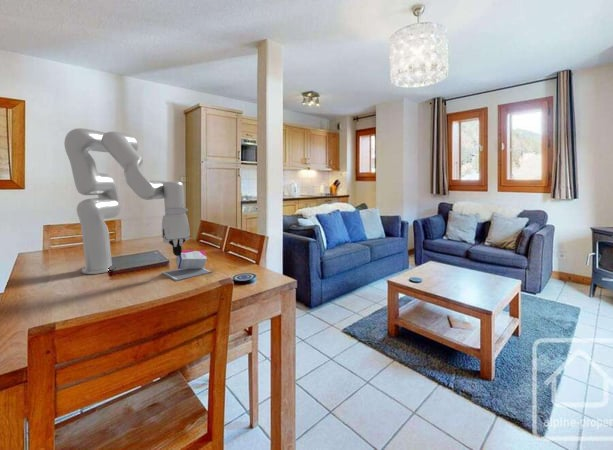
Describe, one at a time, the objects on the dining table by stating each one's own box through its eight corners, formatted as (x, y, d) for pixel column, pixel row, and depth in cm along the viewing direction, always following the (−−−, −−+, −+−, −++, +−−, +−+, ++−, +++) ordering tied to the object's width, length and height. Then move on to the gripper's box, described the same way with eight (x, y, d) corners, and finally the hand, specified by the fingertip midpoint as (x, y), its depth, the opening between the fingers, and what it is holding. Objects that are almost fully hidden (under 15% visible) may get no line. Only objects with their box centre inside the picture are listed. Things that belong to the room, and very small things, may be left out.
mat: (161, 273, 130) (161, 272, 130) (196, 265, 142) (196, 264, 141) (176, 281, 121) (175, 280, 120) (212, 272, 132) (212, 271, 132)
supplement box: (177, 269, 129) (204, 268, 136) (180, 258, 127) (207, 258, 134) (175, 260, 133) (201, 260, 140) (177, 250, 131) (204, 250, 138)
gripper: (188, 209, 132) (190, 250, 135) (152, 212, 121) (155, 256, 124) (196, 211, 127) (198, 253, 130) (160, 214, 116) (163, 260, 119)
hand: (177, 255), depth 127 cm, fingers closed
